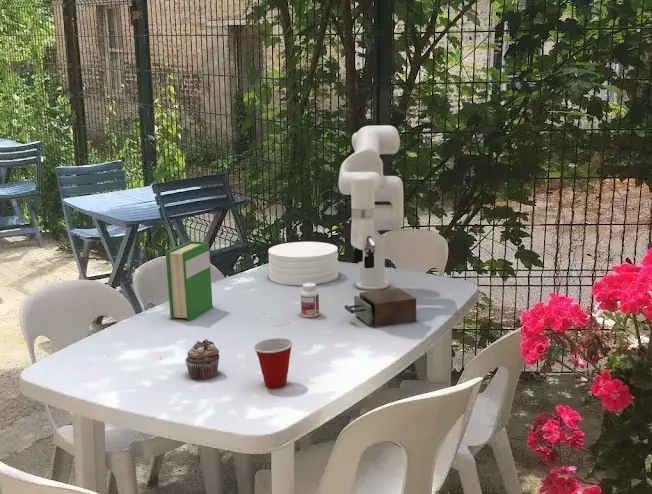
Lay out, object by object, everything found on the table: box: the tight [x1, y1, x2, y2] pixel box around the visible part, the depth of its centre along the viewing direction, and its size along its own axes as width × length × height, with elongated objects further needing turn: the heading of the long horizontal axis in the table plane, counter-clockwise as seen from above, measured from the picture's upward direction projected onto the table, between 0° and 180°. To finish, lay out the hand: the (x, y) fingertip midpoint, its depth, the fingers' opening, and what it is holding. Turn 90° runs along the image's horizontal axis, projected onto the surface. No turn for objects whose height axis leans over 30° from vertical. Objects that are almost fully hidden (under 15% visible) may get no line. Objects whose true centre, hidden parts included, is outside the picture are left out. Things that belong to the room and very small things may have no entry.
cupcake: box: [184, 338, 220, 381], centre depth 243 cm, size 10×10×10 cm
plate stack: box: [268, 241, 339, 286], centre depth 348 cm, size 28×28×12 cm
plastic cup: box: [252, 337, 294, 389], centre depth 234 cm, size 11×11×12 cm
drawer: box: [343, 295, 375, 326], centre depth 288 cm, size 18×13×6 cm
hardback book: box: [165, 240, 214, 322], centre depth 301 cm, size 18×7×24 cm, turn 159°
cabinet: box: [358, 287, 417, 328], centre depth 290 cm, size 15×15×8 cm
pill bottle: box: [300, 283, 320, 318], centre depth 296 cm, size 6×6×11 cm
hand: (363, 264), depth 282 cm, fingers open, 9 cm apart
